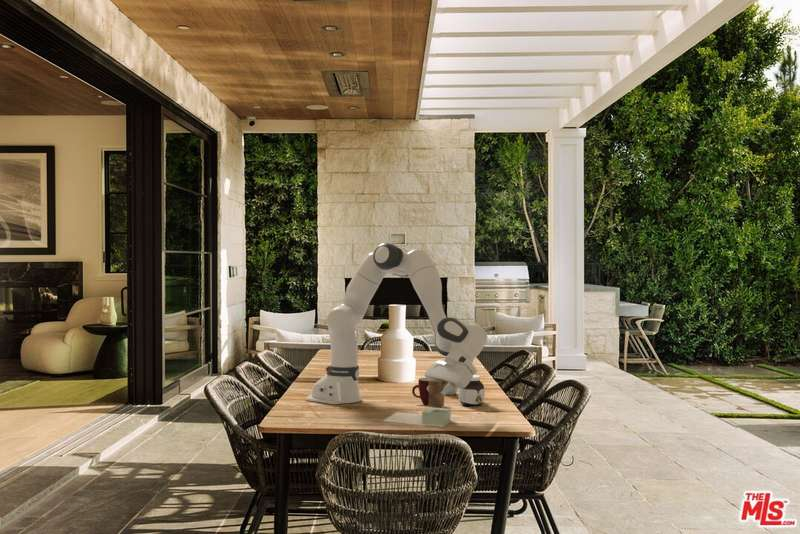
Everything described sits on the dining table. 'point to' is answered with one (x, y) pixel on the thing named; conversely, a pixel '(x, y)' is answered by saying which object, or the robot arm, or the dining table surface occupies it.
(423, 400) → the mug
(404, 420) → the tile
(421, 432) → the dining table surface
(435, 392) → the pillar
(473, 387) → the spread jar
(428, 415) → the base block
